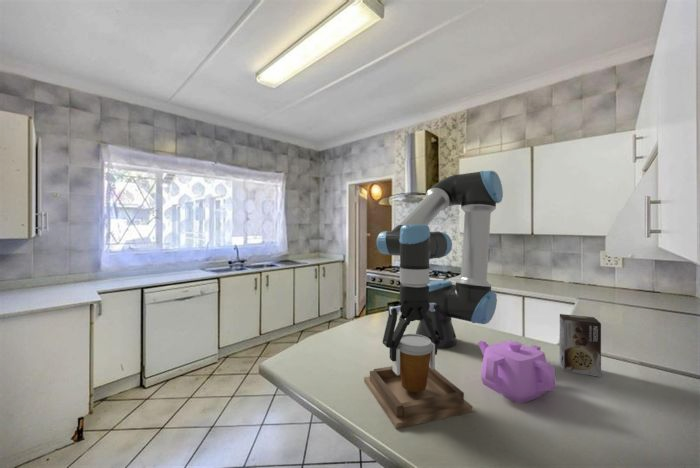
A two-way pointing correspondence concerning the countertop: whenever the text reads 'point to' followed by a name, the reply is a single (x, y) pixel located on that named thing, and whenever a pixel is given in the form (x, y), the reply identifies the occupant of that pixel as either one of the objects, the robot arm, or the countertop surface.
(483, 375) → the teakettle
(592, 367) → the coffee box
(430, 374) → the cup caddy
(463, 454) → the countertop surface
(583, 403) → the countertop surface
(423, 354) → the disposable coffee cup
